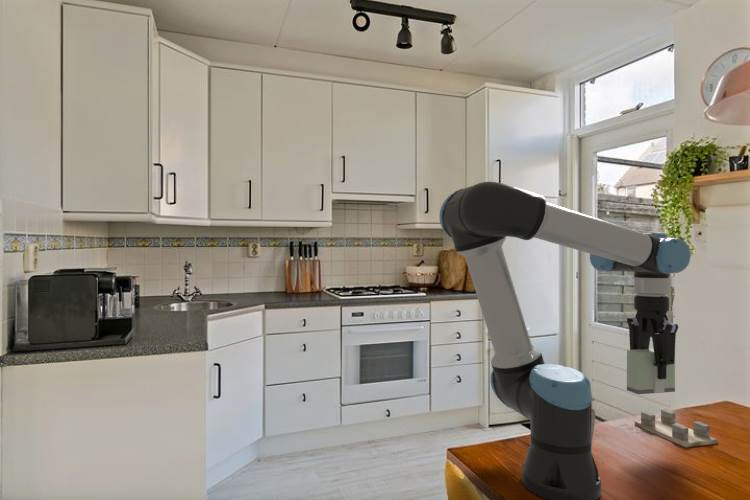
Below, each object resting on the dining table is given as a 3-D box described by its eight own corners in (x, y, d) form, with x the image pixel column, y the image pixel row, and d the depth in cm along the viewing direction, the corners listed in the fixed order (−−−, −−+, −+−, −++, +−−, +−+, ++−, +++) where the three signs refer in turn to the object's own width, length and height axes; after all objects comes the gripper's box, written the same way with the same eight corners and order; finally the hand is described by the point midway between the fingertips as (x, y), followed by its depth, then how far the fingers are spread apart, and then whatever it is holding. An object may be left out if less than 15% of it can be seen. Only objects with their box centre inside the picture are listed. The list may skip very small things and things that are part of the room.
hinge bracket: (685, 447, 117) (685, 431, 117) (634, 424, 132) (634, 410, 132) (717, 443, 119) (717, 427, 119) (663, 421, 135) (663, 407, 135)
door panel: (674, 391, 118) (675, 351, 118) (638, 394, 115) (638, 352, 115) (662, 387, 121) (662, 348, 121) (626, 390, 118) (626, 349, 118)
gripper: (693, 297, 111) (693, 398, 111) (637, 292, 127) (637, 380, 127) (667, 298, 109) (667, 400, 109) (613, 292, 125) (613, 381, 125)
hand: (651, 389), depth 118 cm, fingers closed on door panel, 4 cm apart
